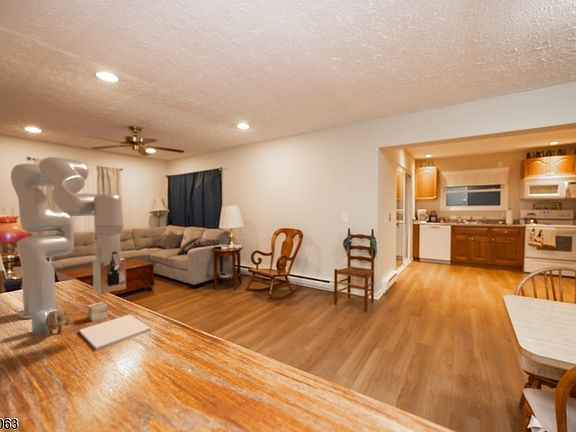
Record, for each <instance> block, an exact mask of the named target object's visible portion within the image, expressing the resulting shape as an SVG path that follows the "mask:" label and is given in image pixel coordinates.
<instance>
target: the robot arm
mask: <svg viewBox="0 0 576 432" xmlns="http://www.w3.org/2000/svg"><path fill="white" fill-rule="evenodd" d="M88 177H89V169H88V165H86V163H84V162H82V161H81V160H77V159H70V158H63V157H55V156H51V157H50V156H49V157H46V158H43V159H42V160H40V162H39V163H38V164H37V163H20V164H16V165H14V167H13V168H11V173H10V181H11V185H12V187H13V190H14V192H15V193H16V196H17V199H18V210H19V221H20V225H21V228H22V230H24V232H27V233H41V232H42V233H43V232H55V233H54V234H52V233H51V234H39V235H38V234H37V235H30V236H26V237H23V238H21V239H20V240H19V241H18V242H17V245H16V248H17V253H18V257H19V262H20V266H21V278H22V280H21V281H22V300H23V310H21V311H20V312H19V313H18V314H17V315H18V318H19V319H26V320H27V319H32V313H33V312H35V311H38V310H44V309H48V310H49V314H50V313H51V312H52V311H54V310H58V309H61V308H62V306H61V304H59V303H57V301H56V300H57V298H56V277H55V267H54V265H53V264H52V263H51V262H50V261H49V260H48V259H49V258H53V257H59V256H60V257H61V256H66V255H69V254H71V253H72V252H73V251H74V248H75V237H74V227H73V226H74V225H73V217H85V216H86V217H87V216H89V217H90V216H92V217H93V216H94V236H95V237H96V244H95V245H96V246H95V261H100V262H102V263H103V266H107V265H108V272H109V274H107V276H108V286H113V285H118V284H119V266H120V263H121V258H122V249H121V248H122V247H121V237H120V236H121V235H122V234H123V233H122V232H123V229H122V228H123V227H122V199H121V197H120V195H119V194H109V193H108V194H105V193H104V194H100V193H80V192H81V191H82V189H83V188H84V187H85V184H86V183H85V180H87V178H88ZM39 187H47V188H49V187H50V188H53V189H52V199H53V203H54V204H55V205H56V206H57V208H50V206H49V199H48V196H47V195H46V193H45V192H44V191H43V190H42V189H41V188H39ZM47 258H48V259H47ZM110 263H114V264H110ZM112 266H114V267H112ZM111 267H112V269H111Z"/></svg>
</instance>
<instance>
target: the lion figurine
mask: <svg viewBox="0 0 576 432" xmlns="http://www.w3.org/2000/svg"><path fill="white" fill-rule="evenodd" d="M65 320H66V322H65V324H66V325H69V324H70V317H69V312H68V309H67V308H63V307H61V309H58V310H54V311H52V312H51V313H50V314H49V315H48V317H47V319H46V325H47V326H48V330H49V331H48V334H47V337H53V335H54V332H53V329H57V333H58V335H61V334H63V333H64V331H63V328H62V327H63V322H64V321H65Z"/></svg>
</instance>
